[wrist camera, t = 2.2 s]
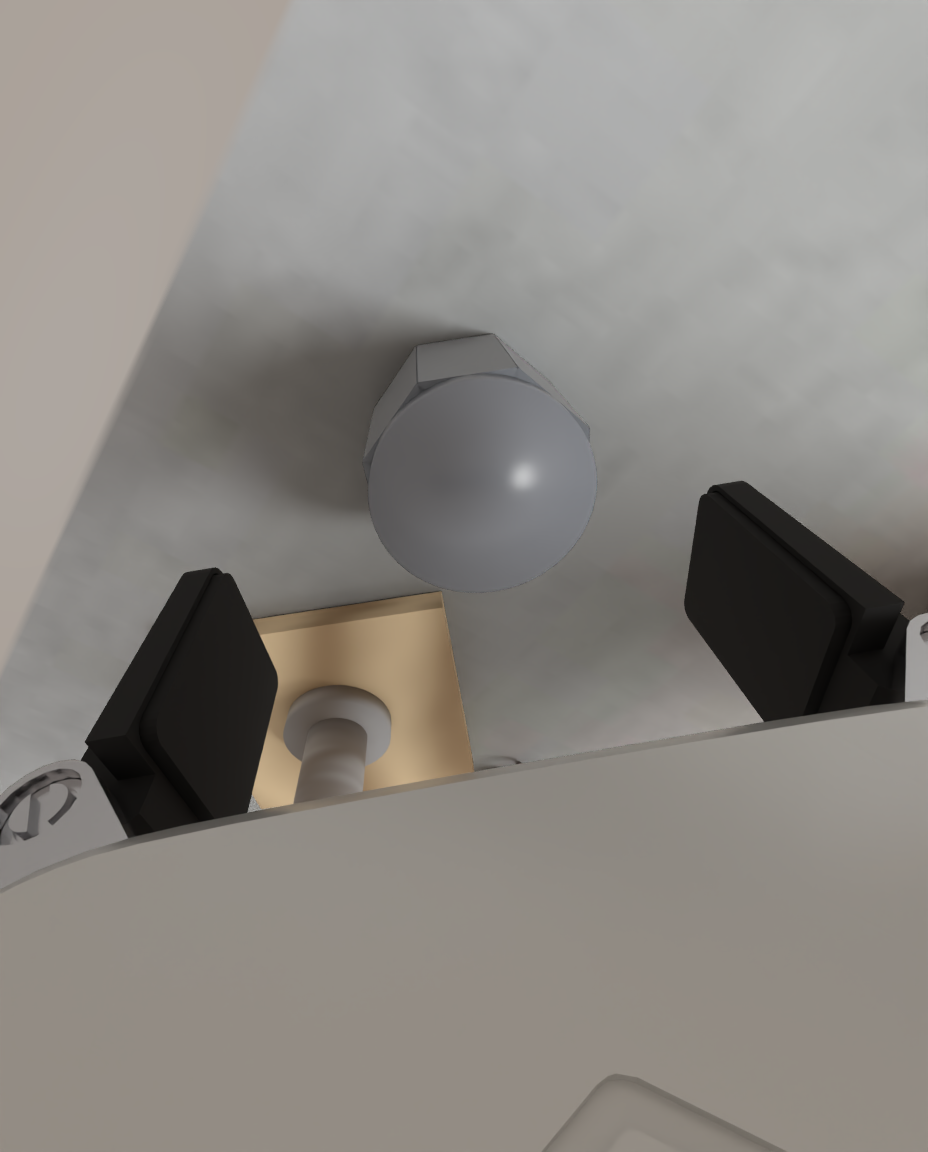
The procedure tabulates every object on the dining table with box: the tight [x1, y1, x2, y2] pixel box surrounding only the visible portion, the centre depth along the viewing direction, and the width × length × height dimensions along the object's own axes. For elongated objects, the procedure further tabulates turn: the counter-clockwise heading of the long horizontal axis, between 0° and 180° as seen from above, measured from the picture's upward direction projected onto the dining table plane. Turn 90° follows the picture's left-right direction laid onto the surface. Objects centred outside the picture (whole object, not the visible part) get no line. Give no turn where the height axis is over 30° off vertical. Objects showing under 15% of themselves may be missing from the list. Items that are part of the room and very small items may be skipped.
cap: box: [362, 334, 597, 593], centre depth 17 cm, size 6×6×6 cm
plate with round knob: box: [252, 591, 474, 809], centre depth 24 cm, size 12×12×7 cm
